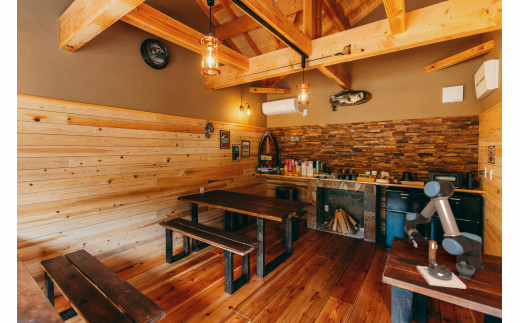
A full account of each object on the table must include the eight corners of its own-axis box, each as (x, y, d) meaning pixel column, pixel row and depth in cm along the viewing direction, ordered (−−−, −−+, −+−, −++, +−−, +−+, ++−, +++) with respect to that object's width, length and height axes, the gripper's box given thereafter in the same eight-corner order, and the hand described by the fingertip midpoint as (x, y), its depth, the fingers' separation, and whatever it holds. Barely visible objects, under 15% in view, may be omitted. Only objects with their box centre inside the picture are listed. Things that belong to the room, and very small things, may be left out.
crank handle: (456, 281, 149) (457, 253, 148) (433, 279, 152) (434, 251, 151) (440, 265, 168) (441, 240, 167) (420, 264, 171) (421, 239, 170)
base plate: (448, 271, 165) (448, 268, 164) (465, 288, 145) (466, 285, 145) (416, 268, 169) (416, 265, 169) (429, 284, 150) (429, 281, 150)
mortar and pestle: (458, 270, 165) (459, 254, 164) (476, 277, 157) (477, 260, 156) (453, 276, 159) (453, 259, 158) (470, 283, 151) (471, 265, 150)
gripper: (431, 240, 194) (445, 252, 173) (398, 238, 200) (407, 249, 179) (432, 232, 193) (445, 242, 173) (398, 229, 199) (408, 240, 179)
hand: (426, 246), depth 176 cm, fingers open, 13 cm apart
